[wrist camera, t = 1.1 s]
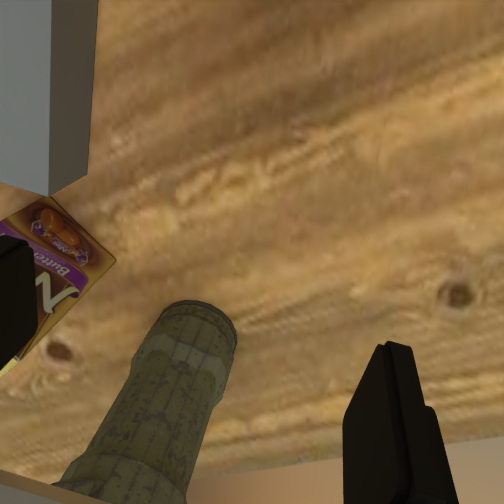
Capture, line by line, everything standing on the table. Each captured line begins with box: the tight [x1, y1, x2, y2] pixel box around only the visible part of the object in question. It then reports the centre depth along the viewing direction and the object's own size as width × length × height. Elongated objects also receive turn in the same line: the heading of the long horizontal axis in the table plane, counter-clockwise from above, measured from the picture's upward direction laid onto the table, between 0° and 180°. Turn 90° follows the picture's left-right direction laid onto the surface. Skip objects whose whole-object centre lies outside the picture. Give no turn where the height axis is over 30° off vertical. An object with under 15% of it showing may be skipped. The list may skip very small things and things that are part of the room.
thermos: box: [50, 300, 237, 504], centre depth 29 cm, size 9×12×35 cm
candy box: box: [0, 196, 116, 377], centre depth 35 cm, size 9×4×15 cm, turn 42°
